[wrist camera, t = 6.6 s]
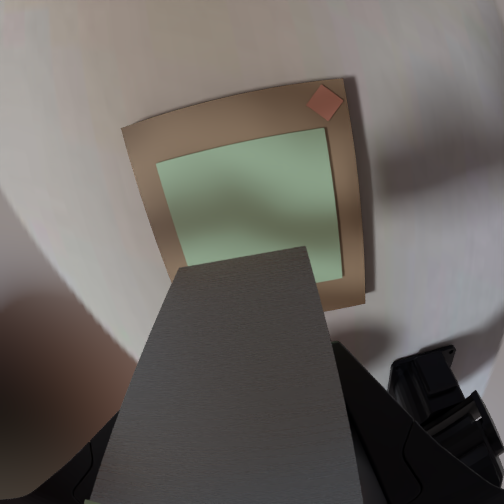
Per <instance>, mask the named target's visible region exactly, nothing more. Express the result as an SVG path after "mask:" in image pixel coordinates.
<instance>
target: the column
mask: <svg viewBox="0 0 504 504" xmlns="http://www.w3.org/2000/svg"><path fill="white" fill-rule="evenodd" d="M84 504H363V498H362V492H361V486H360V480H359V474H358V468H357V463H356V457H355V452H354V446H353V441H352V436H351V431H350V426H349V421H348V416H347V411H346V406H345V402H344V397H343V392H342V388H341V383H340V379H339V374H338V370H337V365H336V361H335V357H334V353H333V348H332V344H331V340H330V336H329V332H328V328H327V324H326V320H325V316H324V312H323V308H322V304H321V300H320V296H319V293H318V289H317V285H316V281H315V278H314V274H313V270H312V267H311V263H310V259H309V256H308V252H307V249H306V246H300V247H294V248H289V249H283V250H277V251H272V252H266V253H260V254H255V255H249V256H243V257H238V258H232V259H226V260H221V261H215V262H209V263H203V264H198V265H192V266H186V267H180V268H179V269H178V271H177V273H176V275H175V277H174V280H173V282H172V284H171V286H170V289H169V291H168V293H167V295H166V298H165V300H164V302H163V304H162V307H161V309H160V311H159V314H158V316H157V318H156V321H155V323H154V325H153V328H152V330H151V332H150V335H149V337H148V340H147V342H146V345H145V347H144V349H143V352H142V354H141V357H140V359H139V362H138V364H137V367H136V369H135V372H134V374H133V377H132V379H131V382H130V385H129V387H128V390H127V393H126V395H125V398H124V401H123V403H122V406H121V408H120V411H119V414H118V417H117V419H116V422H115V425H114V428H113V430H112V433H111V436H110V439H109V442H108V445H107V448H106V451H105V454H104V456H103V459H102V462H101V466H100V469H99V472H98V475H97V478H96V481H95V484H94V487H93V491H92V494H91V497H90V501H89V500H86V499H85V502H84Z"/></svg>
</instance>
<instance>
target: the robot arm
mask: <svg viewBox="0 0 504 504" xmlns="http://www.w3.org/2000/svg"><path fill="white" fill-rule="evenodd" d="M331 344H332V348H333V353H334V357H335V361H336V365H337V370H338V374H339V379H340V383H341V388H342V392H343V397H344V402H345V406H346V411H347V416H348V421H349V426H350V431H351V436H352V441H353V446H354V452H355V457H356V463H357V468H358V474H359V480H360V486H361V492H362V498H363V504H504V489H502V488H501V486H502V481H503V476H504V469H503V466H502V464H501V461H500V459H499V455H501V454H502V453H503V452H504V446H503V443H502V441H501V439H500V436H499V433H498V431H497V429H496V426H495V424H494V422H493V420H492V418H491V416H490V414H489V412H488V410H487V408H486V406H485V404H484V402H483V401H482V399H481V397H480V396H479V394H478V392H477V391H476V390H475V391H474V392H472V393H471V395H470V396H469V397H467V398H466V399H465V397H464V395H463V393H462V391H461V389H460V387H459V385H458V382H457V380H456V378H455V376H454V374H453V372H452V370H451V368H450V367H451V364H452V361H453V358H454V354H455V351H456V349H455V347H454V345H450V346H447V347H444V348H440V349H437V350H434V351H431V352H427V353H424V354H420V355H417V356H413V357H410V358H406V359H402V360H399V361H396V362H394V363H393V364H392V365H391V370H390V377H389V383H388V389H387V391H386V390H385V388H384V387H383V386H382V385H381V384H380V383H379V382H378V381H377V380H376V379H375V378H374V377H373V376H372V375H371V374H370V373H369V372H368V371H367V370H366V369H365V368H364V367H363V366H362V365H361V364H360V362H359V361H358V360H357V359H356V358H355V357H354V356H353V355H352V354H351V353H350V352H349V351H348V350H347V349H346V348H345V347H344V346H343V345H342V344H341V343H340V342H339V341H334V342H331ZM119 411H120V410H119ZM119 411H118V412H117V413H116V414H115V415H114V416H113V417H112V418H111V419H110V420H109V421H108V422H107V424H106V425H105V426H104V427H103V428H102V429H101V430H100V431H99V432H98V433H97V434H96V435H95V436H94V437H93V438H92V439H91V440H90V442H88V443H87V444H86V445H85V446H84V447H83V448H82V449H81V450H80V451H79V452H78V453H77V454H76V455H75V456H74V457H73V458H72V459H71V460H70V461H69V462H68V463H67V464H65V465H64V466H63V467H62V468H61V469H60V470H59V471H57V472H56V473H55V474H54V475H53V476H51V477H50V478H49V479H48V480H46V481H45V482H44V483H43V484H42V485H40V486H39V487H38V488H37V489H35V490H34V491H33V492H31V493H29V494H27V495H25V496H23V497H19V498H13V499H3V500H0V504H84V502H85V499H86V500H89V501H90V497H91V494H92V491H93V487H94V484H95V481H96V478H97V475H98V472H99V469H100V466H101V462H102V459H103V456H104V454H105V451H106V448H107V445H108V442H109V439H110V436H111V433H112V430H113V428H114V425H115V422H116V419H117V417H118V414H119ZM480 416H481V417H482V418H481V419H479V420H478V421H475V420H476V419H477V418H479V417H480Z"/></svg>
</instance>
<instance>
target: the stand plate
mask: <svg viewBox="0 0 504 504" xmlns="http://www.w3.org/2000/svg"><path fill="white" fill-rule="evenodd" d="M121 130H122V134H123V137H124V141H125V145H126V148H127V152H128V155H129V159H130V162H131V165H132V169H133V172H134V175H135V179H136V182H137V185H138V188H139V191H140V195H141V198H142V201H143V204H144V207H145V210H146V213H147V216H148V219H149V222H150V225H151V228H152V231H153V233H154V236H155V239H156V242H157V245H158V248H159V250H160V253H161V256H162V259H163V261H164V264H165V267H166V269H167V272H168V275H169V277H170V280H171V282H173V280H174V277H175V275H176V273H177V271H178V269H179V268H180V267H186V266H192V265H198V264H203V263H209V262H215V261H221V260H226V259H232V258H238V257H243V256H249V255H255V254H260V253H266V252H272V251H277V250H283V249H289V248H294V247H300V246H306V249H307V252H308V256H309V259H310V263H311V267H312V270H313V274H314V278H315V281H316V285H317V289H318V293H319V296H320V300H321V304H322V308H323V312H325V311H330V310H335V309H341V308H346V307H351V306H356V305H361V304H365V268H364V245H363V229H362V215H361V203H360V192H359V182H358V173H357V165H356V157H355V149H354V142H353V135H352V128H351V122H350V116H349V110H348V104H347V98H346V93H345V88H344V82H343V78H340V79H330V80H321V81H313V82H306V83H298V84H292V85H285V86H279V87H273V88H268V89H262V90H257V91H252V92H247V93H242V94H238V95H233V96H229V97H224V98H220V99H216V100H212V101H208V102H204V103H200V104H196V105H193V106H189V107H186V108H182V109H179V110H175V111H172V112H168V113H165V114H162V115H159V116H156V117H153V118H149V119H146V120H143V121H140V122H138V123H135V124H132V125H129V126H126V127H123V128H121Z"/></svg>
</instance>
